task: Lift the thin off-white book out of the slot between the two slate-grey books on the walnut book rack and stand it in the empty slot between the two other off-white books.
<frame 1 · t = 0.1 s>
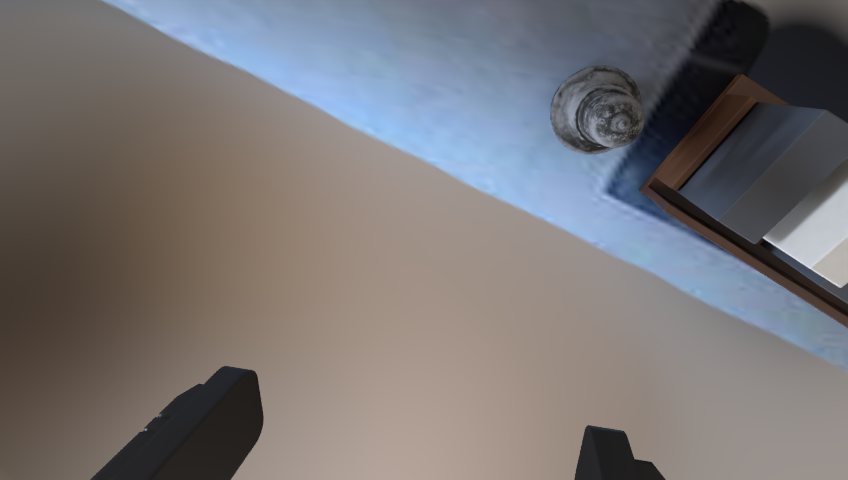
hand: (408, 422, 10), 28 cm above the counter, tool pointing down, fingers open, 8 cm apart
book rack: (802, 211, 32), on the counter
white book: (750, 176, 31), point 1 cm above the counter, touching book rack
stone chess piece: (586, 107, 32), on the counter
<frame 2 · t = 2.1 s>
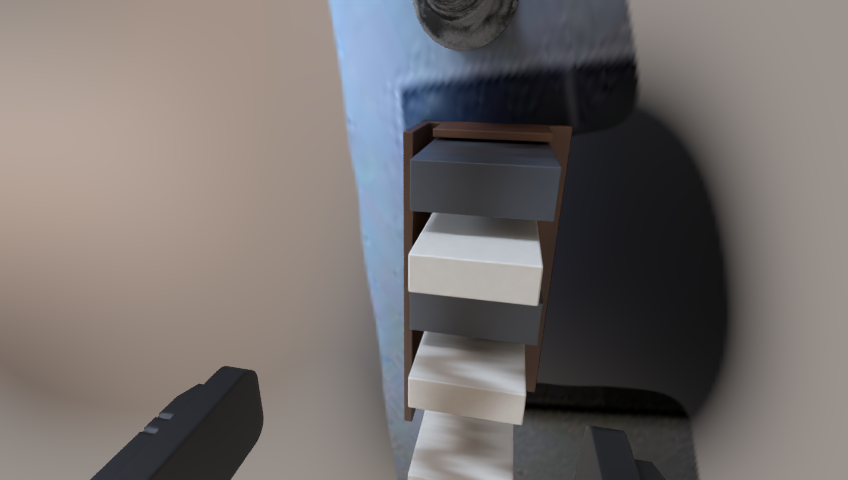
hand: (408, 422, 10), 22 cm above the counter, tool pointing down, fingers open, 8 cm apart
book rack: (483, 266, 33), on the counter
white book: (488, 204, 30), point 1 cm above the counter, touching book rack
stone chess piece: (471, 2, 26), on the counter
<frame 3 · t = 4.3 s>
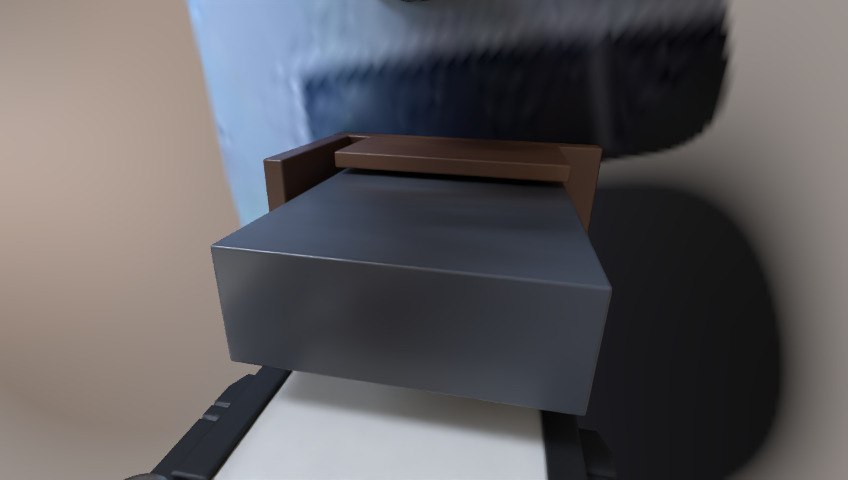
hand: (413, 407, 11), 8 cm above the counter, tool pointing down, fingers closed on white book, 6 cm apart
book rack: (450, 365, 20), on the counter
white book: (453, 274, 18), point 1 cm above the counter, touching book rack, gripper
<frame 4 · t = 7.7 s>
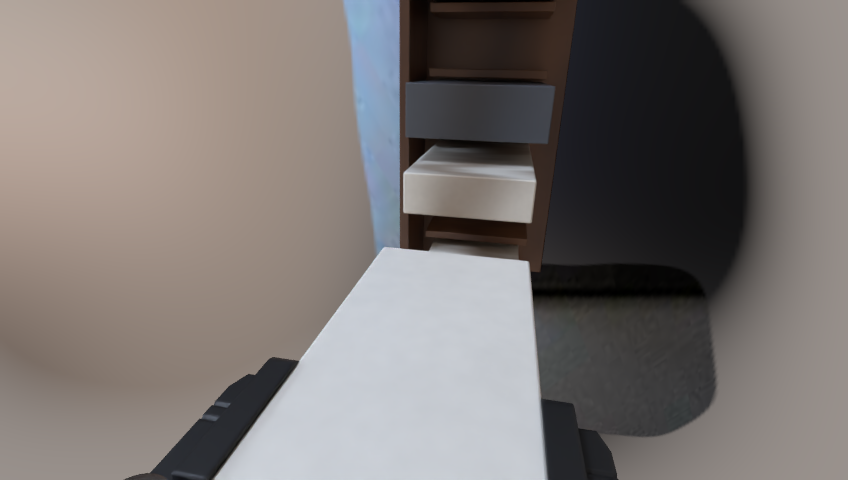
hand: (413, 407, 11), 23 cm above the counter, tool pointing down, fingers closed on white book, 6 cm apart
book rack: (486, 126, 30), on the counter
white book: (453, 274, 18), point 16 cm above the counter, touching gripper
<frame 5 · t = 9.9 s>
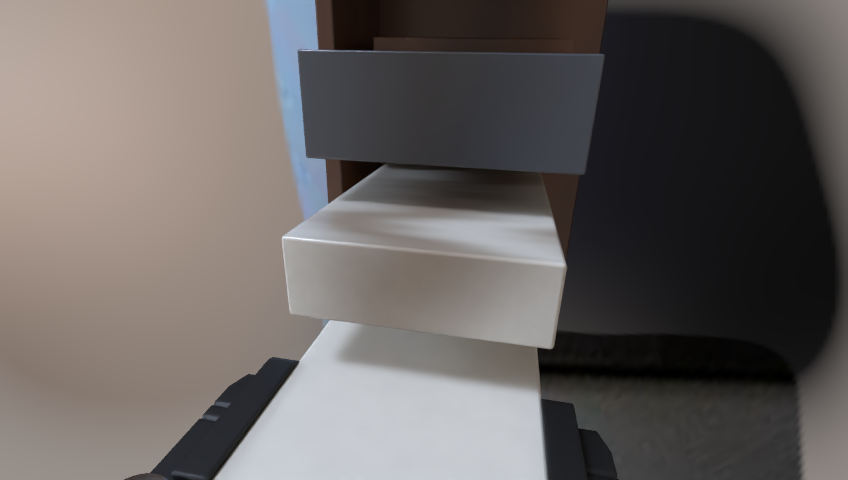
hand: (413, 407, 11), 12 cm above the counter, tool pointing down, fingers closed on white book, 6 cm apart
book rack: (472, 132, 20), on the counter
white book: (453, 275, 18), point 5 cm above the counter, touching gripper
when the fingers open (8 cm above the counter, at t = 11.5 s): white book stays where it is, resting on book rack.
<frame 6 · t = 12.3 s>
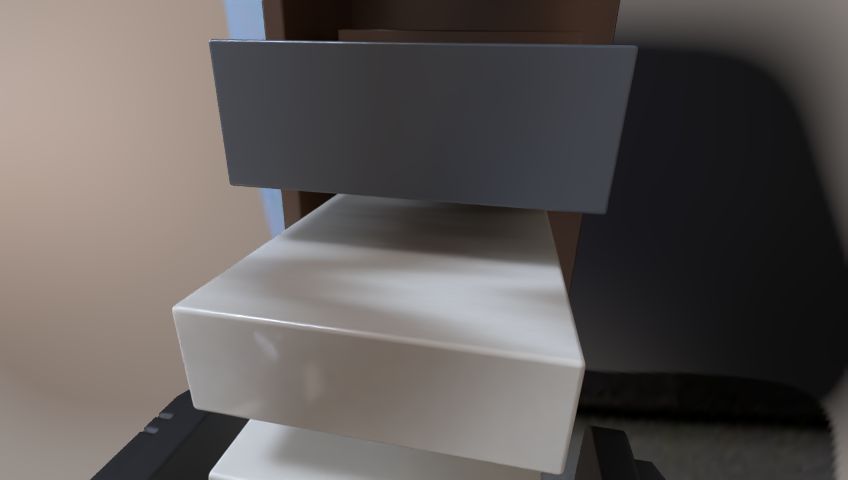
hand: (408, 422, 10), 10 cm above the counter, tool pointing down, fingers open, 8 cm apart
book rack: (462, 142, 17), on the counter
white book: (452, 266, 18), point 1 cm above the counter, touching book rack
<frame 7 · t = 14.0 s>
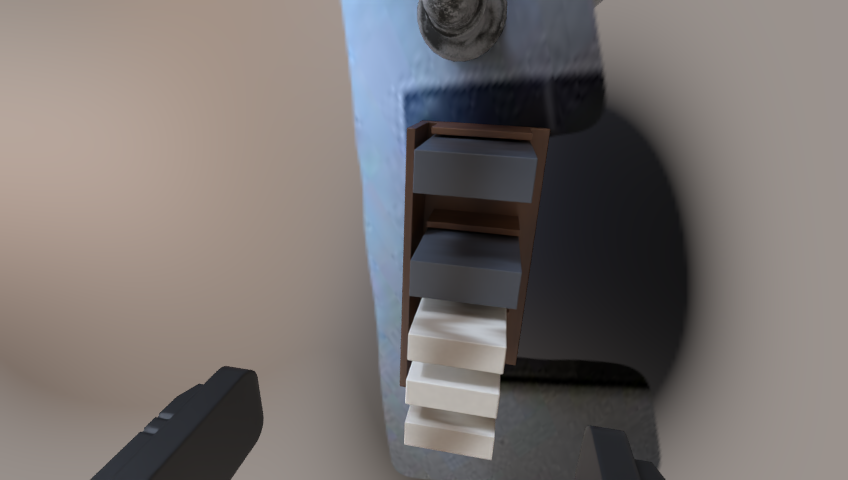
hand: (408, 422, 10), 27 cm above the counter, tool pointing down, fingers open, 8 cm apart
book rack: (472, 250, 37), on the counter
white book: (466, 307, 38), point 1 cm above the counter, touching book rack
stone chess piece: (466, 20, 31), on the counter
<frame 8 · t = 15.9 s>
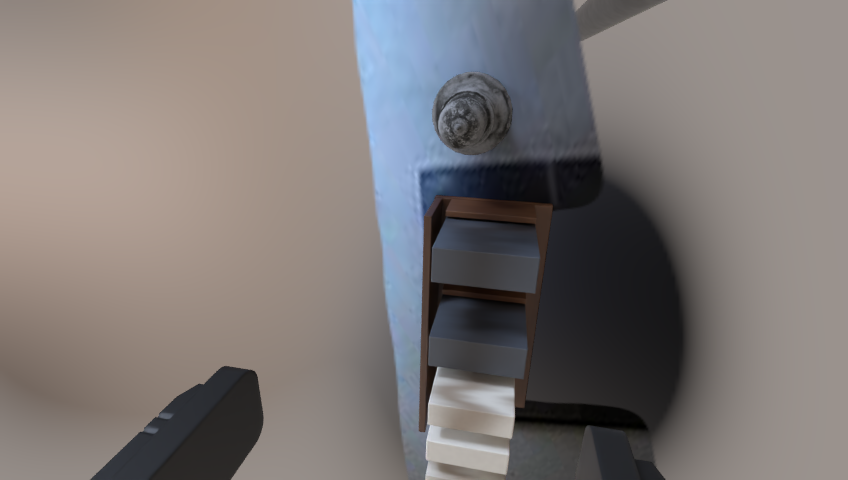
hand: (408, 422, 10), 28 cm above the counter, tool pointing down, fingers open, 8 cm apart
book rack: (483, 307, 40), on the counter
white book: (478, 357, 42), point 1 cm above the counter, touching book rack
stone chess piece: (475, 110, 34), on the counter
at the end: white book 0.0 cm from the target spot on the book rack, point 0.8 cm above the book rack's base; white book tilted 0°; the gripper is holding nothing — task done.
